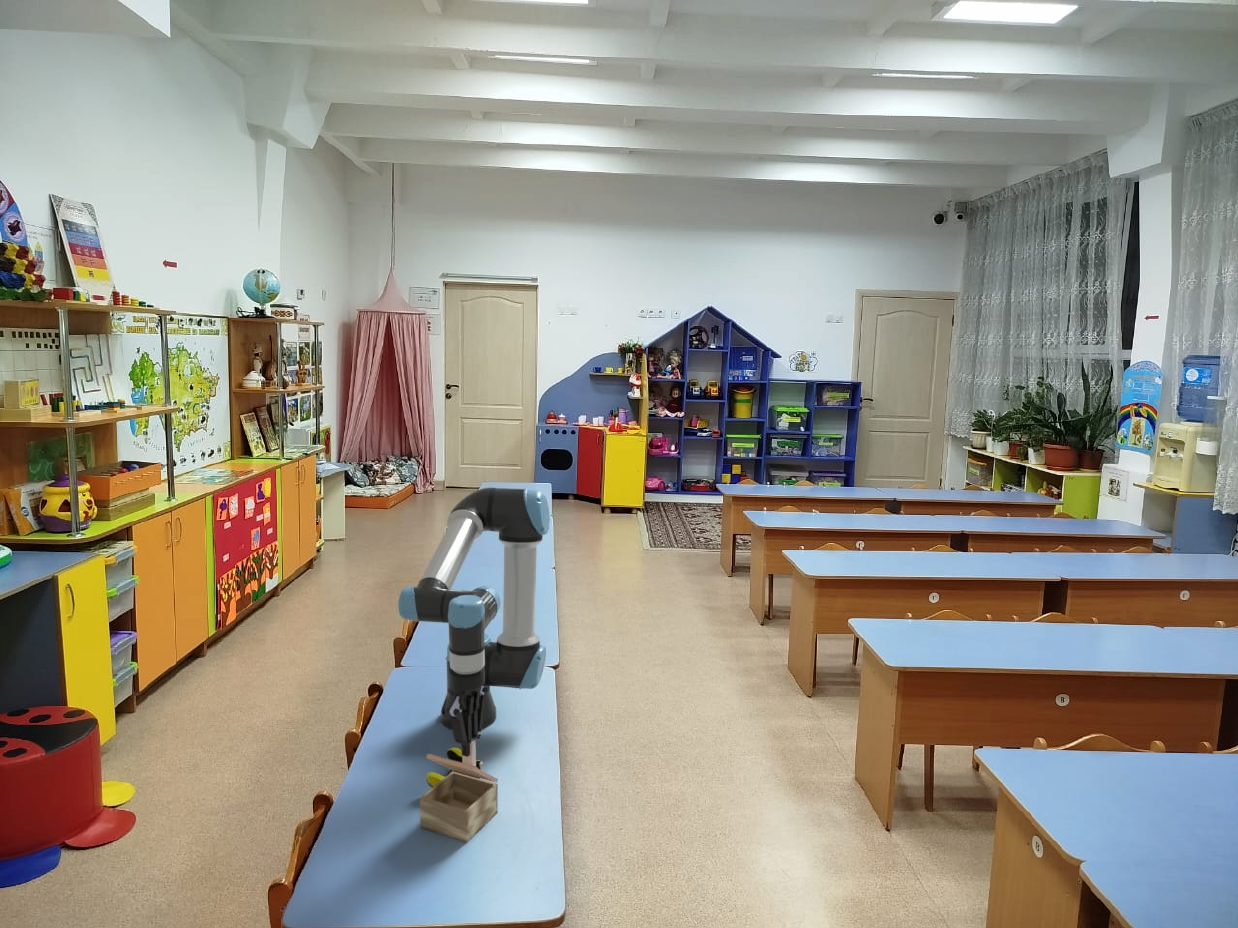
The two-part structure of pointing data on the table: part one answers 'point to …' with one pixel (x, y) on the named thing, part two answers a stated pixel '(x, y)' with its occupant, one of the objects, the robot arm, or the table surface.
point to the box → (459, 806)
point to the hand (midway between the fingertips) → (469, 766)
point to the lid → (461, 767)
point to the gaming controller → (452, 755)
